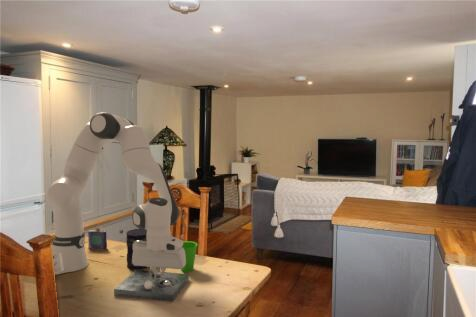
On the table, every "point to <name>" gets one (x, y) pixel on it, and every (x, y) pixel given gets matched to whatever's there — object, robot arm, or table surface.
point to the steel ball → (166, 282)
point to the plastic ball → (148, 284)
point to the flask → (97, 239)
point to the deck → (136, 289)
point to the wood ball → (156, 268)
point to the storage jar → (131, 238)
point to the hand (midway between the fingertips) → (158, 277)
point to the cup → (189, 255)
